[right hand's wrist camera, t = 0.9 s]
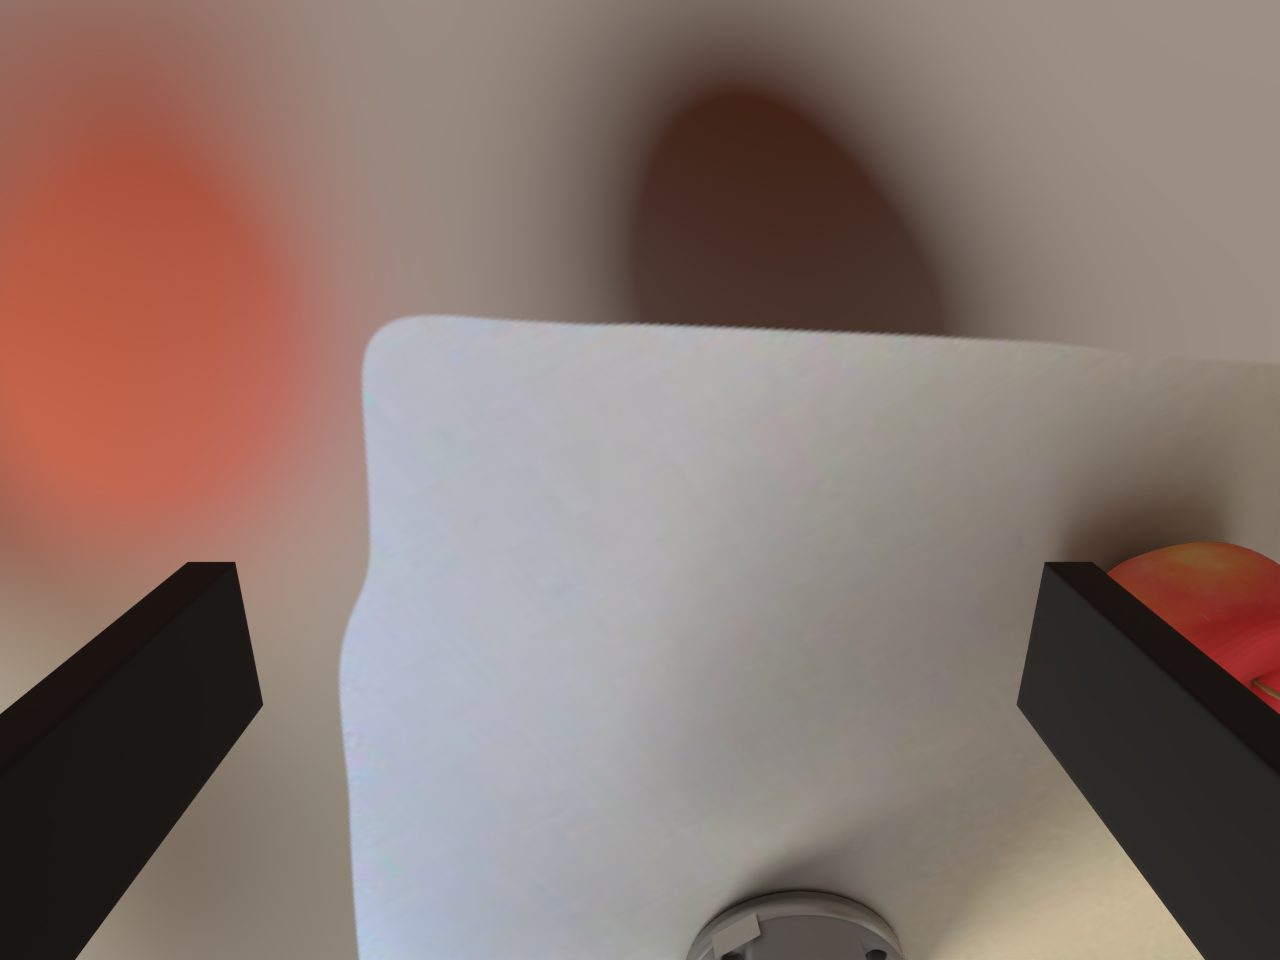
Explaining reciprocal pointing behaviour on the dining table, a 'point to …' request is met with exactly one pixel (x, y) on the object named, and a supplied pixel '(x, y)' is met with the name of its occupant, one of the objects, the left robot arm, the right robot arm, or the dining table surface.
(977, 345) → the dining table surface
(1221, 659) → the apple
